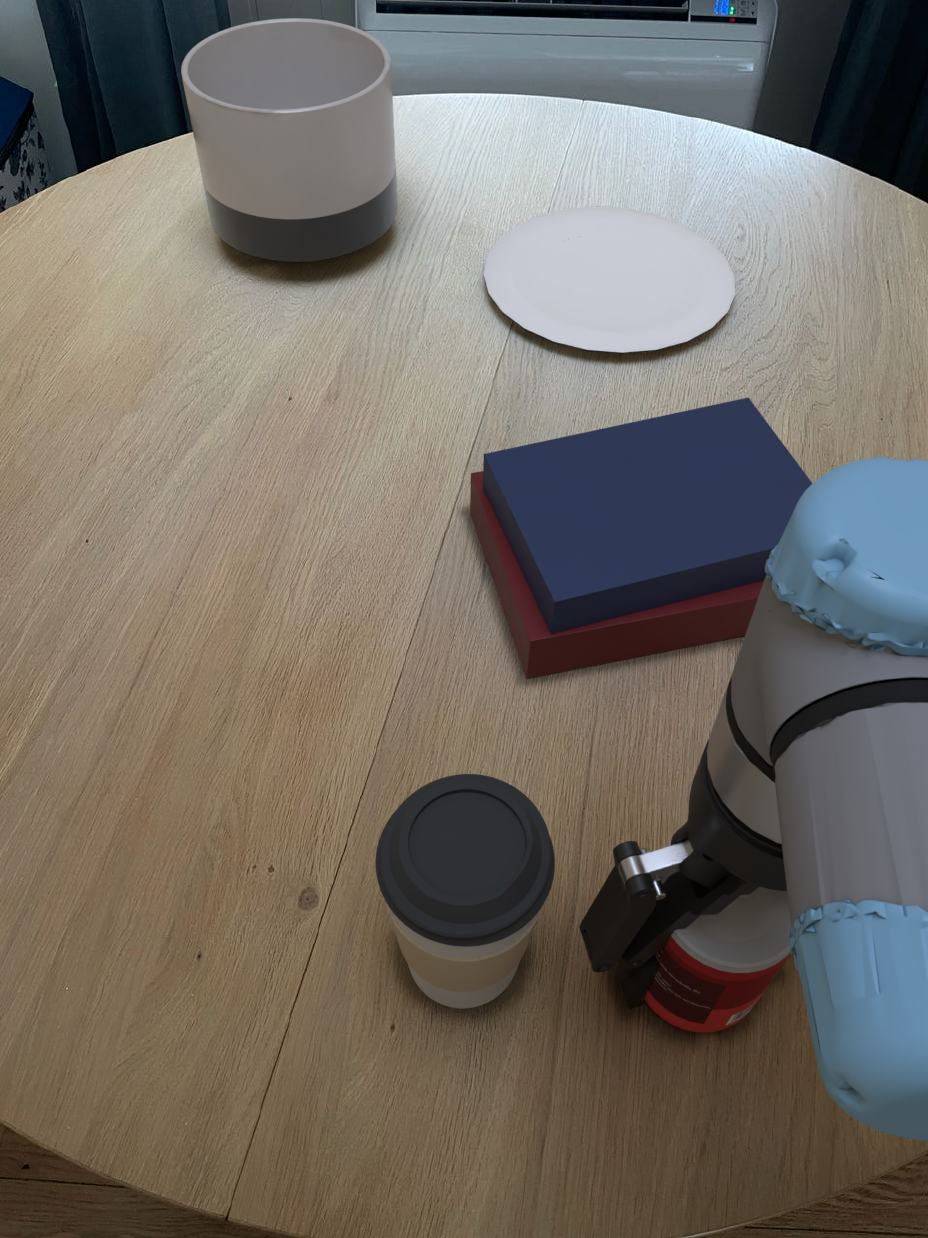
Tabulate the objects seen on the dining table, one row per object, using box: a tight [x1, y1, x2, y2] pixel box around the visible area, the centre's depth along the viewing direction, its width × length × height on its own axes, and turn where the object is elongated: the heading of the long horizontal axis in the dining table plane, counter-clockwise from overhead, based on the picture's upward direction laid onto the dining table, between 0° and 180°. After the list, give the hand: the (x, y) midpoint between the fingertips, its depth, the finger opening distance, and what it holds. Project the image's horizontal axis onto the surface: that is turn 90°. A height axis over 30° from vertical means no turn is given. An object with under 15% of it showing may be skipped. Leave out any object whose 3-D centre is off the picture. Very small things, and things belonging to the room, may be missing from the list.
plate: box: [483, 205, 736, 355], centre depth 104 cm, size 25×25×2 cm
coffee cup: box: [375, 773, 556, 1010], centre depth 56 cm, size 9×9×15 cm
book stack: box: [469, 397, 814, 680], centre depth 78 cm, size 17×24×8 cm
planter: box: [180, 17, 398, 263], centre depth 103 cm, size 19×19×18 cm
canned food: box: [643, 887, 792, 1033], centre depth 57 cm, size 8×8×11 cm
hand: (695, 967), depth 61 cm, fingers closed on canned food, 8 cm apart
